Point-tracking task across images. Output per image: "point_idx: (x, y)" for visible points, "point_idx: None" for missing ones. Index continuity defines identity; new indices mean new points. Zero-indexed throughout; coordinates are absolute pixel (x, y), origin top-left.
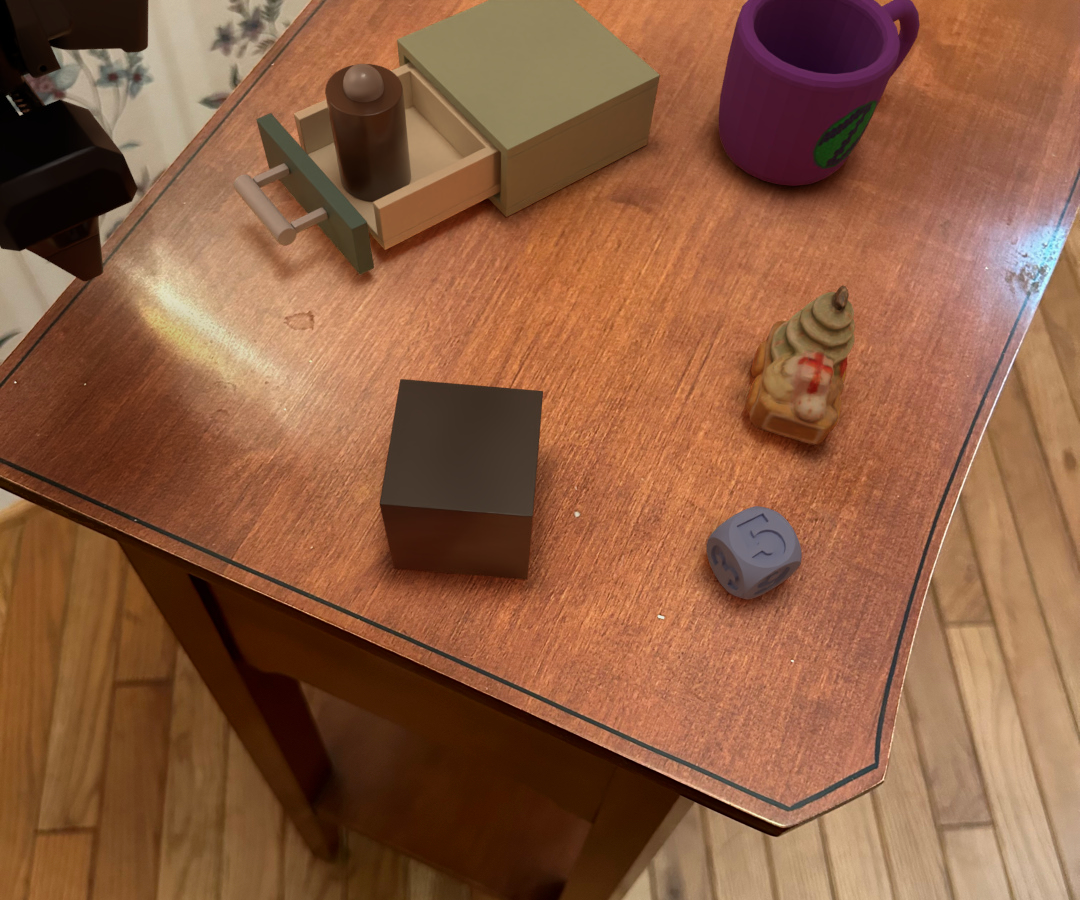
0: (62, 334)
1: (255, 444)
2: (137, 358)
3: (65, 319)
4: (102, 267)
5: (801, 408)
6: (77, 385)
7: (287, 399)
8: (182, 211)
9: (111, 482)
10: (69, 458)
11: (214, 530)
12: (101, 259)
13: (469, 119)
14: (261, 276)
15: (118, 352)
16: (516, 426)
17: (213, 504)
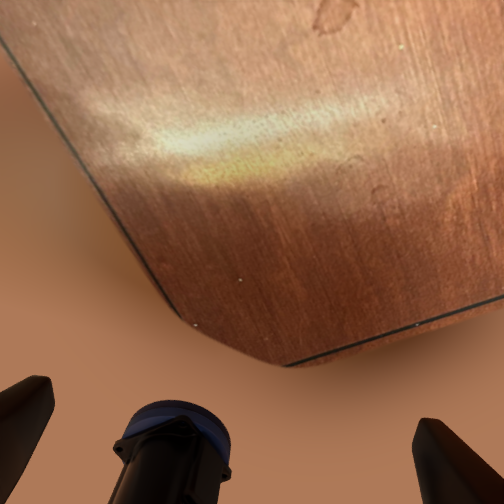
0: (164, 264)
1: (444, 186)
2: (244, 222)
3: (146, 252)
4: (453, 433)
5: None
6: (236, 286)
7: (425, 114)
8: (48, 36)
9: (363, 319)
10: (310, 332)
11: (491, 279)
12: (483, 460)
13: None
14: (224, 9)
15: (223, 233)
16: None
17: (466, 263)
